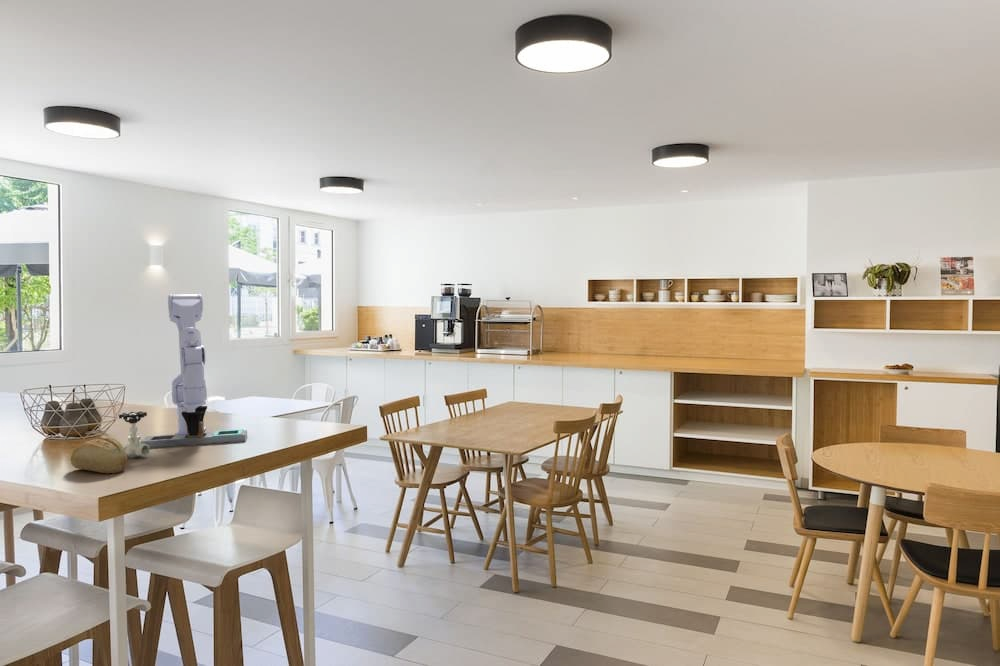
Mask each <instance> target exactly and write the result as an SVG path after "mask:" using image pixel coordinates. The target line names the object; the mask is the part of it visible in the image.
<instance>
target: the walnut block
mask: <svg viewBox="0 0 1000 666" xmlns="http://www.w3.org/2000/svg"><path fill="white" fill-rule="evenodd" d="M204 425H205V424H204V420H203V421H200V423H199V432H198V435H197V436H190V435H189V432H188V428H187V438H192V437H204V433H205V430H204V427H205V426H204Z"/></svg>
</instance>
